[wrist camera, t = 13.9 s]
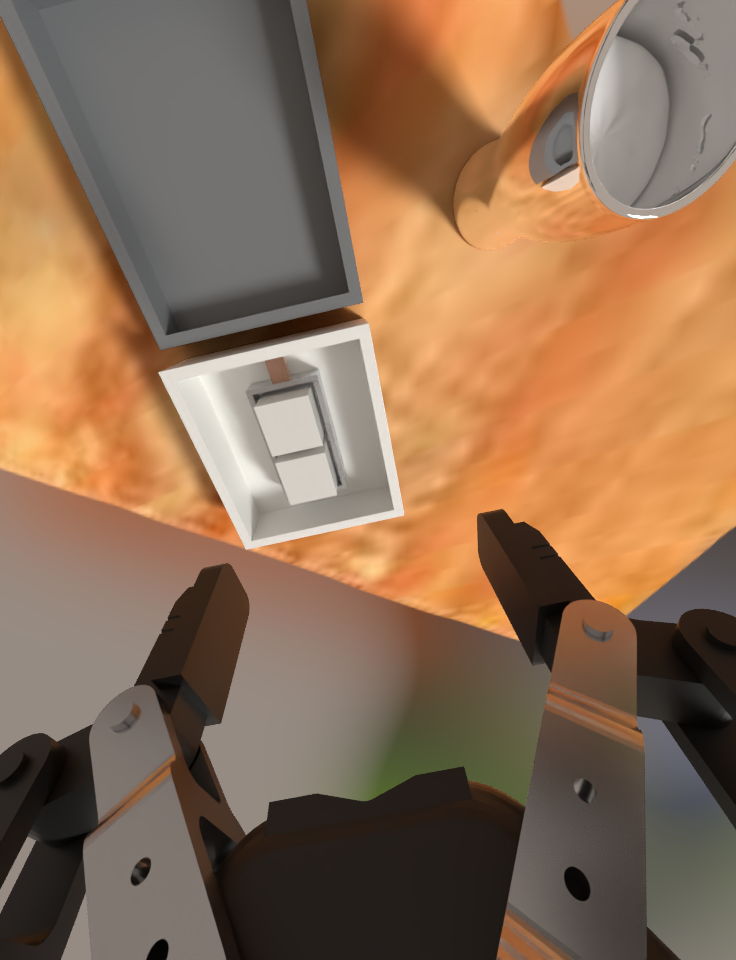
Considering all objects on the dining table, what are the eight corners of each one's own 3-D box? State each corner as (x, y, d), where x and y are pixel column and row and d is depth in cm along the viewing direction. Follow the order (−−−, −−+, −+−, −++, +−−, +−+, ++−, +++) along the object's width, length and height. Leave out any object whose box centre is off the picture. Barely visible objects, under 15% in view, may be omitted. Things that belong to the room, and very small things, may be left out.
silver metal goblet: (473, 112, 22) (673, -144, 9) (562, 159, 24) (845, -2, 11) (431, 237, 25) (536, 181, 12) (512, 271, 27) (684, 255, 14)
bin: (185, 359, 28) (158, 372, 23) (363, 317, 27) (368, 323, 23) (257, 517, 36) (246, 549, 31) (395, 487, 35) (404, 515, 31)
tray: (25, 1, 19) (-32, -51, 16) (289, -68, 18) (280, -136, 15) (178, 343, 27) (160, 350, 24) (360, 301, 27) (363, 302, 24)
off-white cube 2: (281, 443, 30) (274, 463, 27) (326, 433, 30) (324, 452, 27) (295, 482, 32) (290, 505, 29) (337, 472, 32) (337, 495, 29)
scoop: (242, 358, 27) (235, 364, 25) (311, 342, 27) (309, 347, 25) (290, 487, 33) (287, 501, 31) (346, 475, 33) (347, 488, 31)
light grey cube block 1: (263, 392, 28) (253, 407, 25) (311, 381, 28) (308, 395, 25) (279, 437, 30) (272, 456, 27) (324, 427, 30) (322, 445, 27)
